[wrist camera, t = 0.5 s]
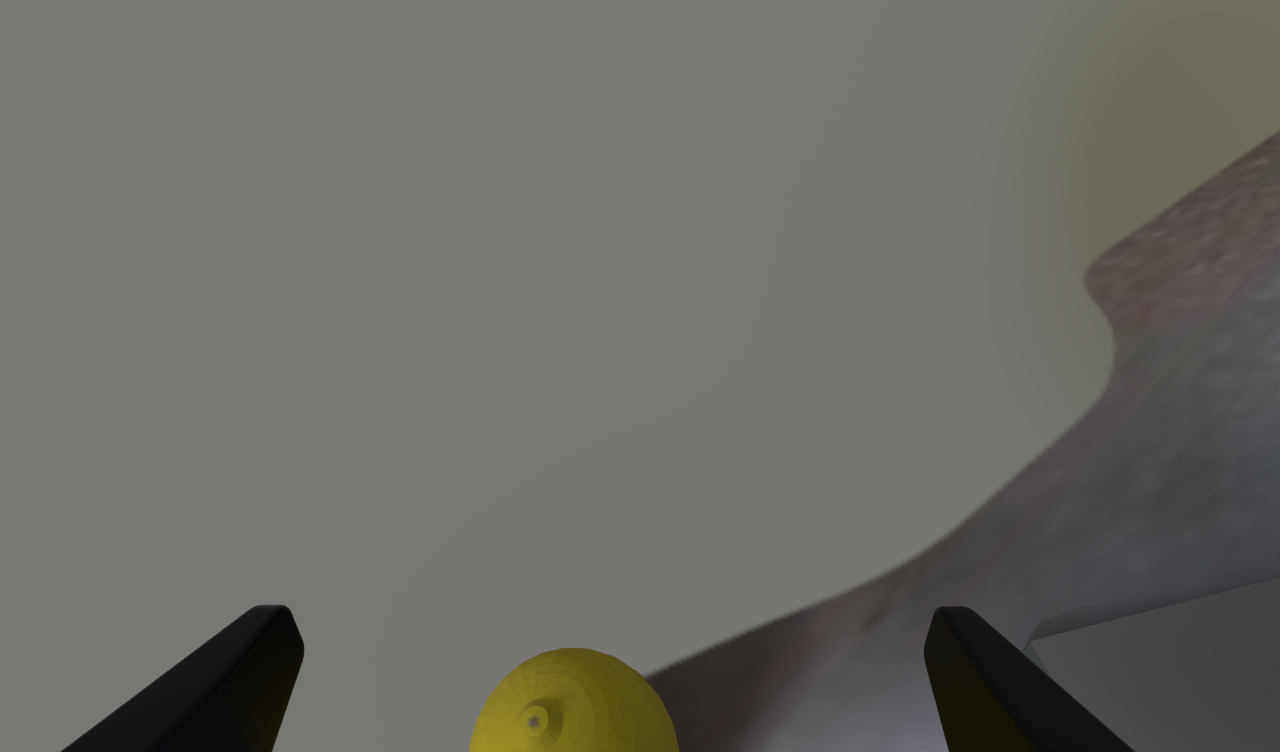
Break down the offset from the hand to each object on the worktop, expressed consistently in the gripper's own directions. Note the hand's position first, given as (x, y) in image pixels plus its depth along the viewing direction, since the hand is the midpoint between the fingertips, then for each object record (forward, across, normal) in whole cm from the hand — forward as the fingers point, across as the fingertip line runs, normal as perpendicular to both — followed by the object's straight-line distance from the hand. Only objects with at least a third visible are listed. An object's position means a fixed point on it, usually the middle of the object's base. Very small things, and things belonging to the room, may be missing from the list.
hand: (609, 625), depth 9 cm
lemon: (+5, +1, +14) cm, 15 cm away
